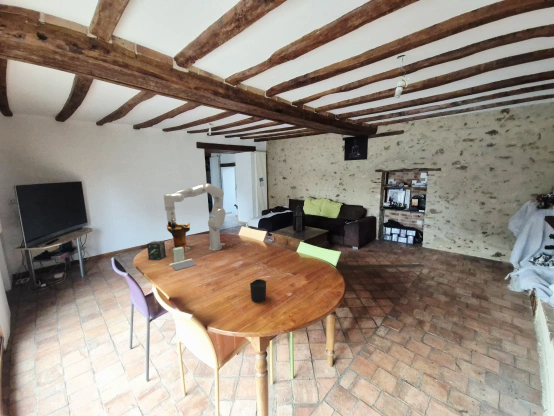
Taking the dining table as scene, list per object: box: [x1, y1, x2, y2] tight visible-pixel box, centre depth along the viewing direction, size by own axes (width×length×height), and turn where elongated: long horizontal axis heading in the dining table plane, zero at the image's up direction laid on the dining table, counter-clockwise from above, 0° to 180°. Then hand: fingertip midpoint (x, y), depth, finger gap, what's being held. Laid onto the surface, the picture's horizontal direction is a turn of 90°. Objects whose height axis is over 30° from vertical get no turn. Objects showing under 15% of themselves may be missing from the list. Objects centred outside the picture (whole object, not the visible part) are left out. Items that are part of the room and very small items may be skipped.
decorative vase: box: [166, 221, 191, 253], centre depth 222 cm, size 21×23×28 cm
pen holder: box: [249, 278, 267, 303], centre depth 133 cm, size 9×9×10 cm
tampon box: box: [146, 240, 167, 261], centre depth 201 cm, size 11×9×15 cm
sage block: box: [172, 247, 186, 263], centre depth 191 cm, size 7×5×12 cm
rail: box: [169, 258, 193, 268], centre depth 189 cm, size 18×2×2 cm, turn 130°
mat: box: [171, 260, 197, 272], centre depth 184 cm, size 16×12×1 cm
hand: (171, 227), depth 195 cm, fingers open, 9 cm apart
